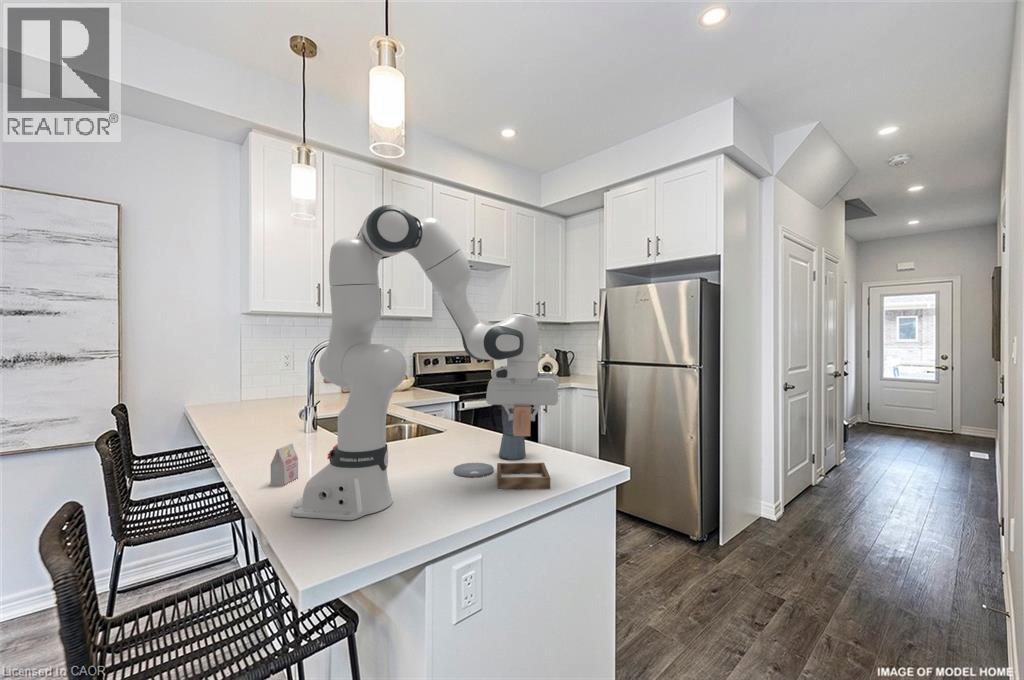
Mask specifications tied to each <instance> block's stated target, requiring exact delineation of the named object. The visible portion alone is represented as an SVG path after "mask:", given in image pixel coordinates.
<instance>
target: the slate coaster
mask: <svg viewBox="0 0 1024 680" xmlns="http://www.w3.org/2000/svg"><path fill="white" fill-rule="evenodd" d="M494 470H495V468H494V466H493V465H492V464H489V463H485V462H467V463H460V464H459V465H456V466H454V467H453V474H454V475H456V476H458V477H460V478H461V477H462V478H467V477H470V478H471V479H472V478H473V479H475V478H474V477H477V478H484V477H487V475H488V476H490V475H492V474H493V473H494V472H495V471H494ZM483 476H484V477H483Z"/></svg>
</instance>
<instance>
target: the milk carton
mask: <svg viewBox="0 0 1024 680" xmlns="http://www.w3.org/2000/svg"><path fill="white" fill-rule="evenodd" d="M296 479H297V480H298V479H299V457H298V455H297V453H296V450H295V448H294V444H293V443H289V444H287V445H285V446H282V447H280V448H277V449H276V451H275V453H274V455H273V459H272V460H271V462H270V487H276V486H284V487H286V486H288V485H289V484H288V483H290V482H291V483H293V482H295V481H296ZM294 480H295V481H294ZM292 481H293V482H292ZM291 483H290V484H291ZM287 484H288V485H287ZM285 485H286V486H285Z"/></svg>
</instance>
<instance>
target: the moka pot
mask: <svg viewBox="0 0 1024 680" xmlns="http://www.w3.org/2000/svg"><path fill="white" fill-rule="evenodd" d="M530 407H531V414H532V413H533V412H534V410H535V409H534V406H533V405H530ZM494 409H497V410H501V423H502V424H501V425H502V428H501V427H497V423H496V420H495V419H496V418H495V416H494V411H493V410H494ZM508 410H509V411H510V413H511V414H513V405H510V409H508ZM488 413H489V416H490V420H491V424H492V427H493V430H495V431H499V432H501V429H502V437H501V441H500V442H501V443H500V448H499V452H498V456H499V457H500V458H502V459H504V460H512V461H518V460H523V459H525V458H526V457H527V456H526V442H525V440H526V438H525V437H526V436H514V434H513V421H509V420H508V413H507V412H506V410H505V405H490V407H488Z"/></svg>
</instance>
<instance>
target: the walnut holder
mask: <svg viewBox="0 0 1024 680" xmlns="http://www.w3.org/2000/svg"><path fill="white" fill-rule="evenodd" d="M520 473H541V476H503V477H502V475H521V474H520ZM496 478H497V479H496V480H497V481H496V482H497V490H498V489H514V490H551V477H550V474H549V471H548V469H547V466H546V464H545V462H497V464H496Z"/></svg>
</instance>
